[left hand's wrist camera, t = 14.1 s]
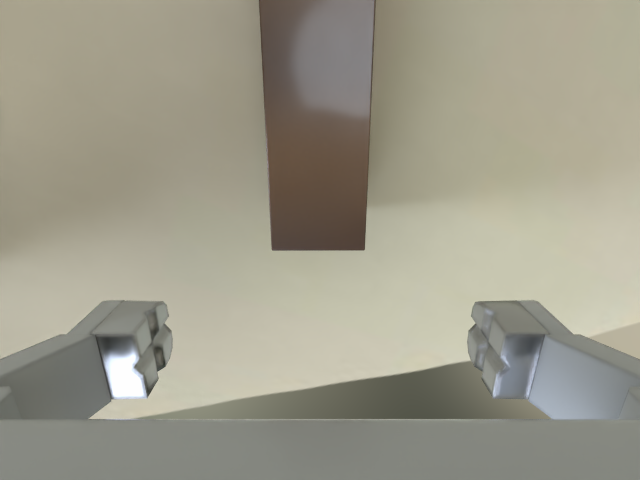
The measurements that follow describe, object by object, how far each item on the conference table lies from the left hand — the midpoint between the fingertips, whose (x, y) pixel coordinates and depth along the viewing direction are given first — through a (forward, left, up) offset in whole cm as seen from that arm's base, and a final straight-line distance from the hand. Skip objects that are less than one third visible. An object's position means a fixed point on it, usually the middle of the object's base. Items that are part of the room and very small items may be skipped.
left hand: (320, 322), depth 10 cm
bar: (+8, +2, -23) cm, 24 cm away
